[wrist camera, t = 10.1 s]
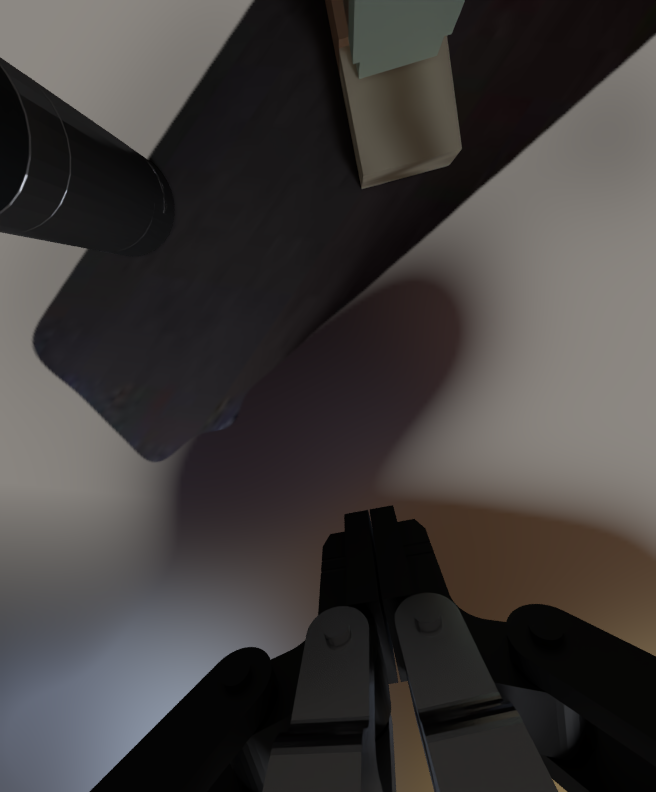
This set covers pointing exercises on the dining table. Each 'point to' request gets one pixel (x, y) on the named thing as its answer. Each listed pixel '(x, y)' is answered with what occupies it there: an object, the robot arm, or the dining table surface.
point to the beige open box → (401, 117)
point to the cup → (338, 24)
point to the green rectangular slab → (398, 31)
